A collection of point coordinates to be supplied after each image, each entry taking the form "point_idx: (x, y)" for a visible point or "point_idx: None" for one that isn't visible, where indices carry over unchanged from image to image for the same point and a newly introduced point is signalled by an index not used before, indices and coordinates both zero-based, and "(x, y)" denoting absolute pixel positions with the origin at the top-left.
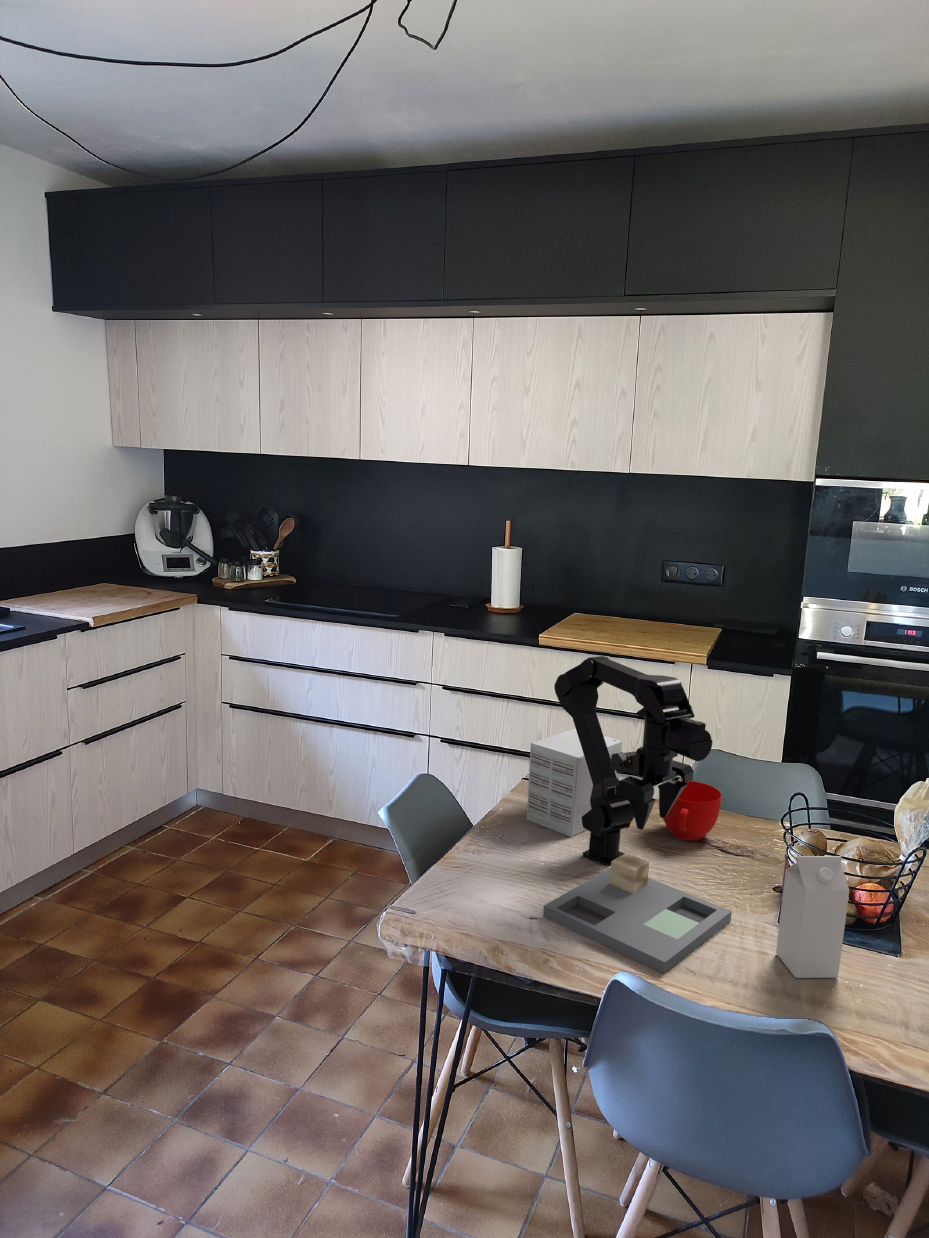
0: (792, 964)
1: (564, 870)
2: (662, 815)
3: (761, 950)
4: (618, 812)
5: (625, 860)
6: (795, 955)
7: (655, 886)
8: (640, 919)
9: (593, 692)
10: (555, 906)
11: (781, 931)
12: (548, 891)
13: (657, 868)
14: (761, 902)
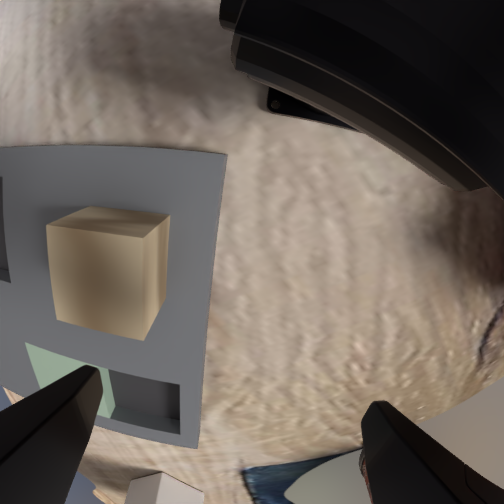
0: (133, 487)
1: (151, 29)
2: (370, 423)
3: (155, 461)
4: (321, 88)
5: (85, 265)
6: (128, 498)
7: (172, 319)
8: (30, 333)
9: None
10: None
11: (150, 502)
12: (33, 82)
13: (352, 246)
14: (309, 444)
